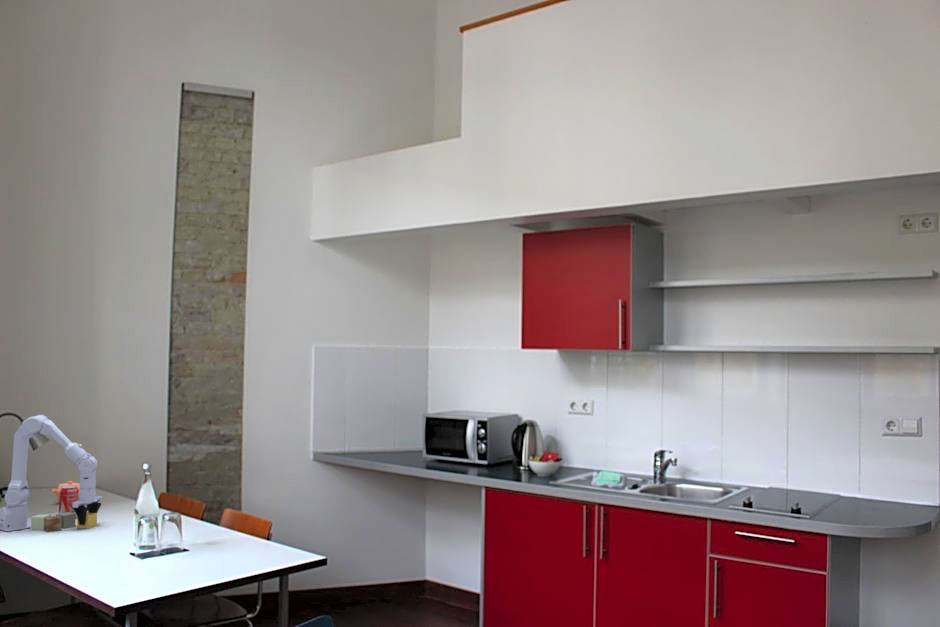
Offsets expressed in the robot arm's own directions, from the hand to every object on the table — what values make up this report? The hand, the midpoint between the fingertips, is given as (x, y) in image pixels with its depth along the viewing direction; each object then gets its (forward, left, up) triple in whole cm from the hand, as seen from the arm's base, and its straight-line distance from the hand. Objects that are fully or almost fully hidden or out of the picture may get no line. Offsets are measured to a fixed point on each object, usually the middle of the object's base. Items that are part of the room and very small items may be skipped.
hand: (87, 523), depth 344 cm
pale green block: (-13, +10, -2) cm, 17 cm away
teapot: (+19, +55, -2) cm, 58 cm away
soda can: (+3, +21, -2) cm, 21 cm away
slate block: (-5, +7, -2) cm, 9 cm away
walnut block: (-12, +3, -2) cm, 12 cm away
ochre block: (0, 0, -1) cm, 1 cm away
